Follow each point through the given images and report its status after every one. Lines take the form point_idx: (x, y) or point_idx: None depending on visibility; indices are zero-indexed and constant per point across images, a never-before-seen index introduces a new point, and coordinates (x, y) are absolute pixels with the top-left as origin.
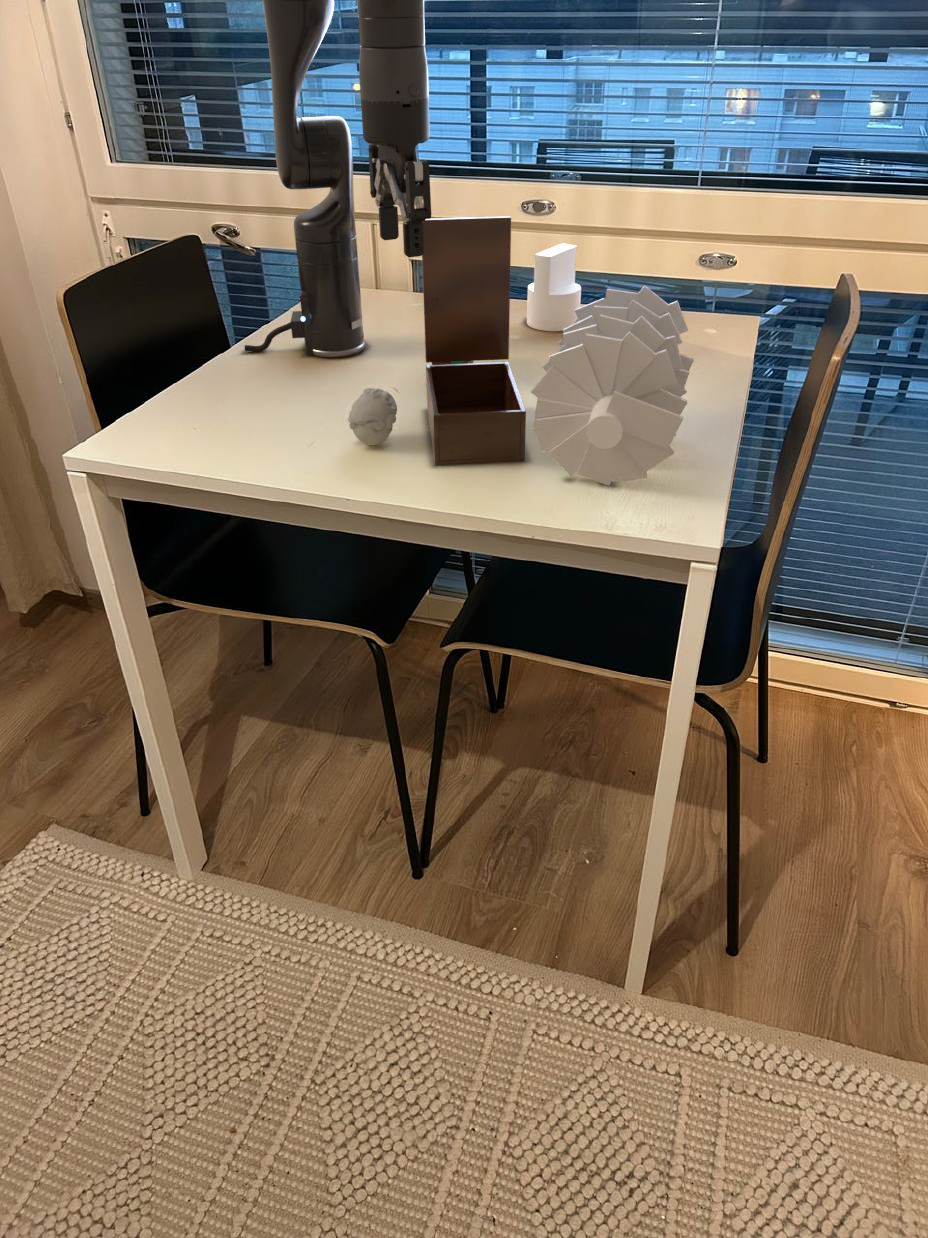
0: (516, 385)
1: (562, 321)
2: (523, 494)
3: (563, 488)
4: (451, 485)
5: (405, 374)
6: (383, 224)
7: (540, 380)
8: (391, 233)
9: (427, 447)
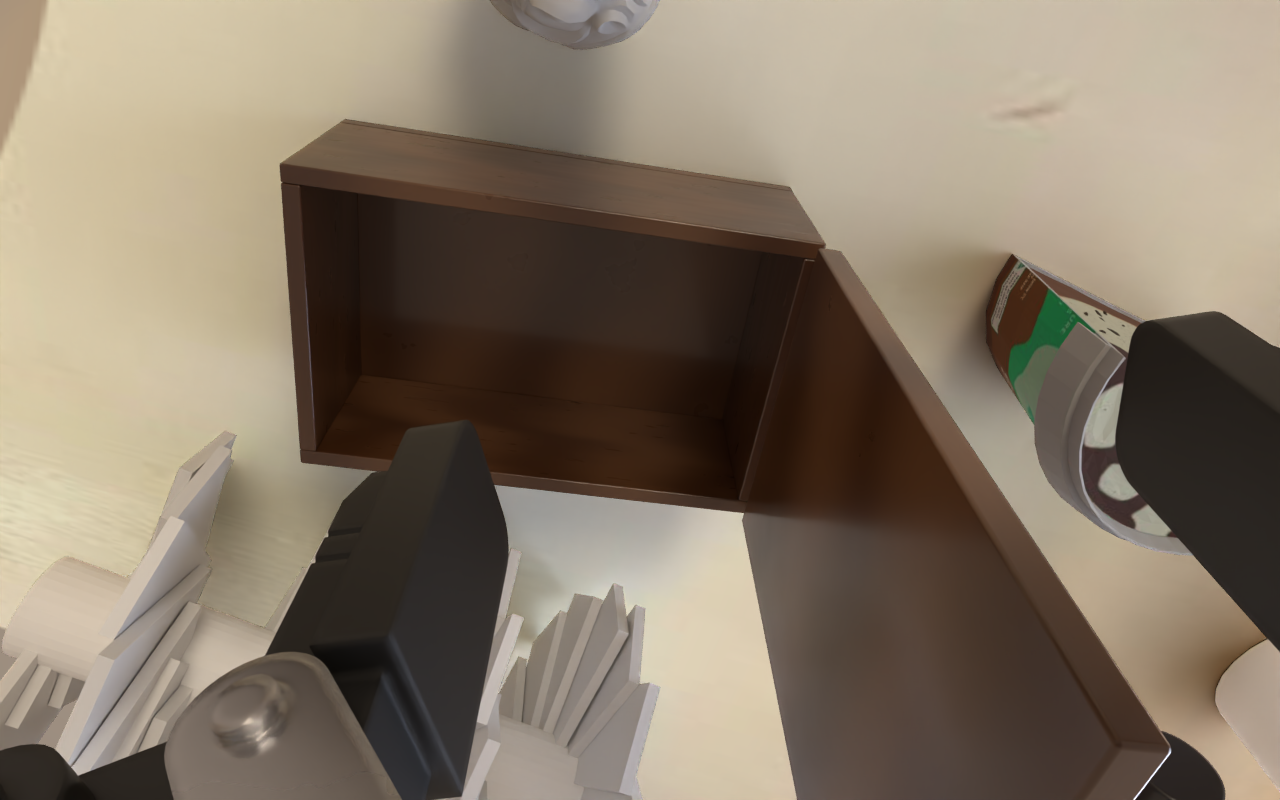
0: (529, 488)
1: (1236, 703)
2: (144, 324)
3: (184, 423)
4: (198, 140)
5: (1165, 177)
6: (1235, 411)
7: (145, 568)
8: (1155, 431)
9: (492, 123)
